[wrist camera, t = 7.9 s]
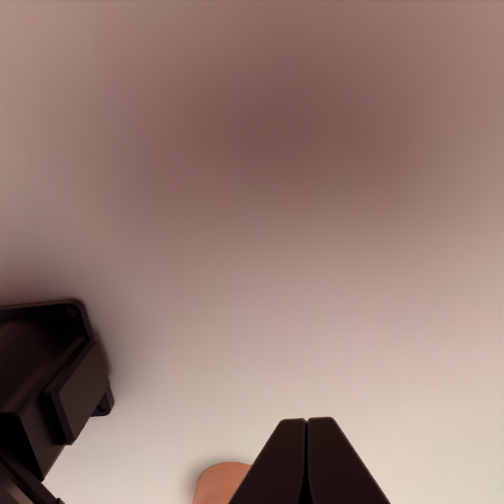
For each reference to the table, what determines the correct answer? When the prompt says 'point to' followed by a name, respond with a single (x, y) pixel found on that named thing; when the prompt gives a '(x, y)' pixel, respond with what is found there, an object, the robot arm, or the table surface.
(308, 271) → the table surface
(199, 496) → the terracotta cylinder
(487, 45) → the table surface
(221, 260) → the table surface
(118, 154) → the table surface
